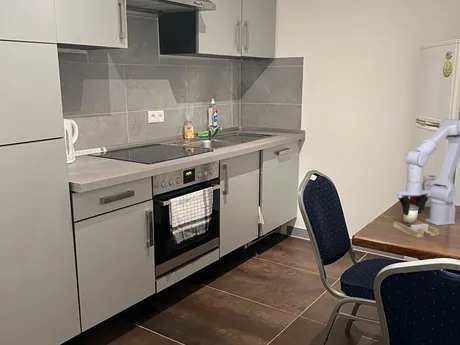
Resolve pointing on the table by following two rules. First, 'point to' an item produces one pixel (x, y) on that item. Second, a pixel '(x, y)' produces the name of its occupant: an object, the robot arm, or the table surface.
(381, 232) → the table surface
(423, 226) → the pusher
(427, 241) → the table surface
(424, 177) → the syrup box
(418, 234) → the lane
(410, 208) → the jar
